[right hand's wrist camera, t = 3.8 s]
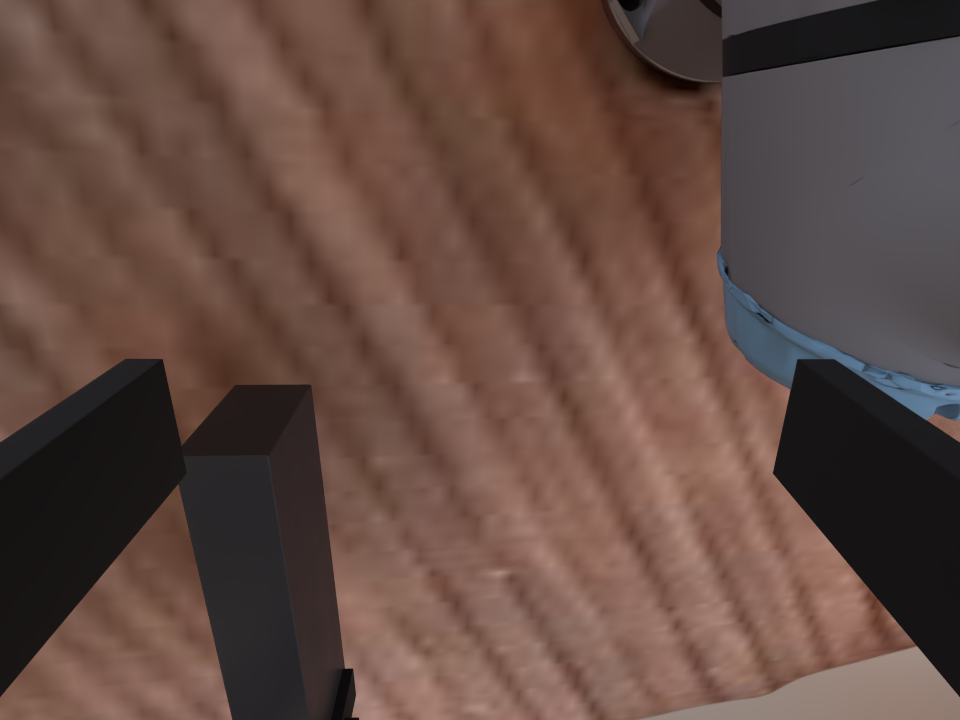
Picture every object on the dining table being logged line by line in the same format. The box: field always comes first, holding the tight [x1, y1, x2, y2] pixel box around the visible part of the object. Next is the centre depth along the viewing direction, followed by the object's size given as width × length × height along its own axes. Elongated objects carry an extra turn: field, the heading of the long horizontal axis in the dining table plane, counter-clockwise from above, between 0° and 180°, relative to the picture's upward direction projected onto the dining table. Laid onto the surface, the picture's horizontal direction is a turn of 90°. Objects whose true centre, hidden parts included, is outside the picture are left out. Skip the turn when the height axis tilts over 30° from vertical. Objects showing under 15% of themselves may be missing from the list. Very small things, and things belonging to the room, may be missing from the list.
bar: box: [179, 385, 345, 720], centre depth 37 cm, size 28×5×8 cm, turn 0°
